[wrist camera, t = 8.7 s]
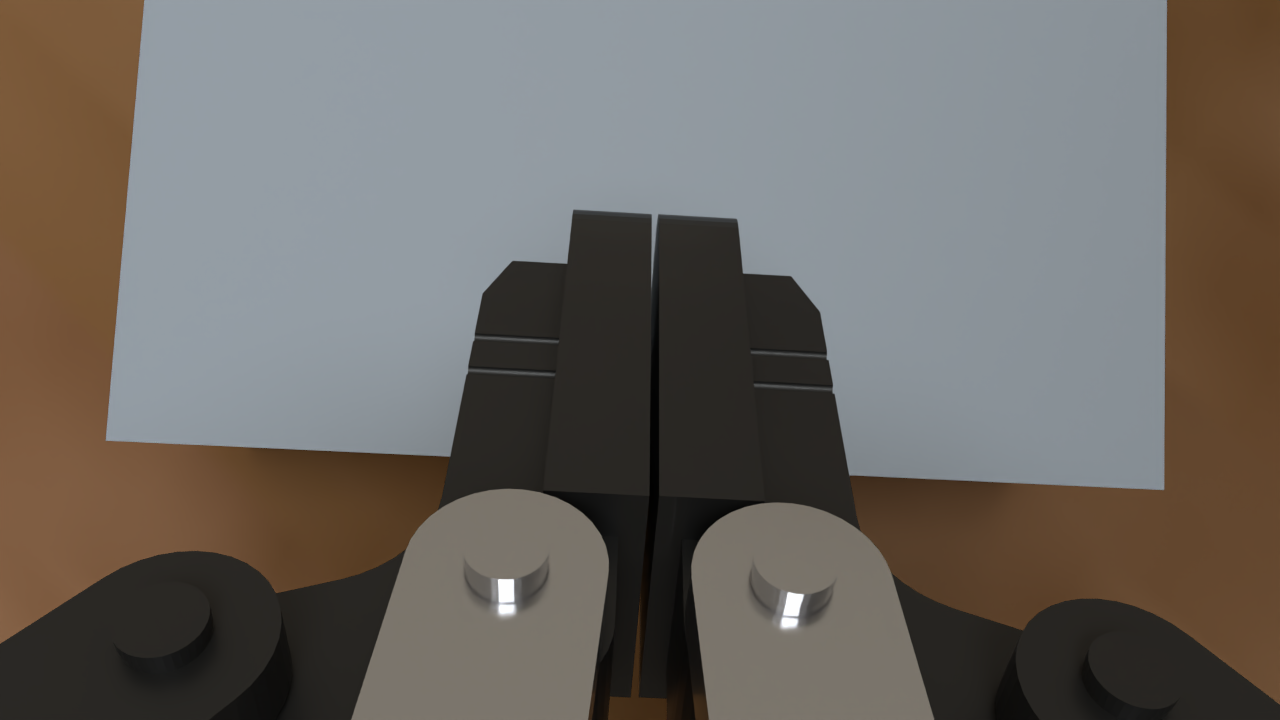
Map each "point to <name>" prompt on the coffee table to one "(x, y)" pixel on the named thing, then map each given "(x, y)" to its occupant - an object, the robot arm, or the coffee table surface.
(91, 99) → the coffee table surface
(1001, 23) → the platform
